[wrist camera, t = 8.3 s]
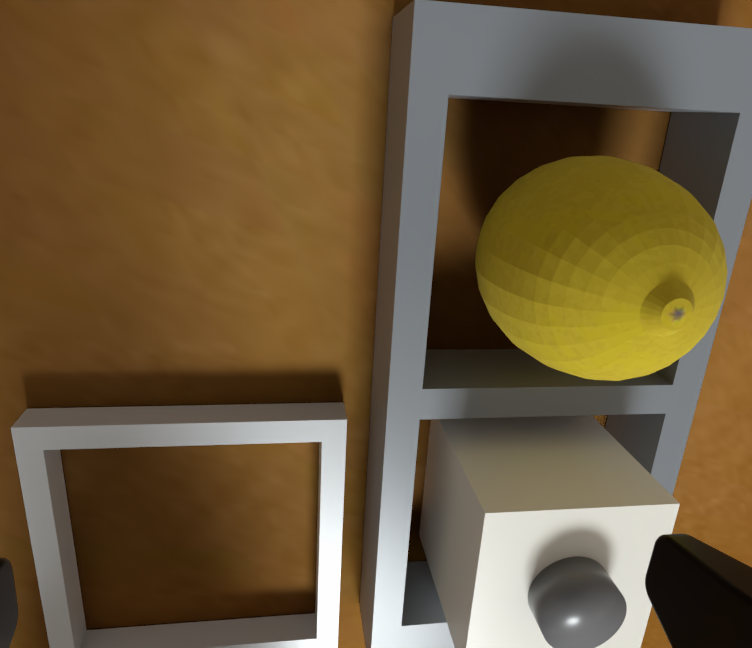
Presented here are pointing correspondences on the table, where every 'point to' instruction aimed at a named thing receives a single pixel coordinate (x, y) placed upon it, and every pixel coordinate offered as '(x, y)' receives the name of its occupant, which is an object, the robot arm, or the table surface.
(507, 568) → the single plug block
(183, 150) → the table surface
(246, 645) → the frame
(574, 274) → the lemon
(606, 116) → the table surface
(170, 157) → the table surface
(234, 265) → the table surface
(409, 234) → the grey double frame tray
